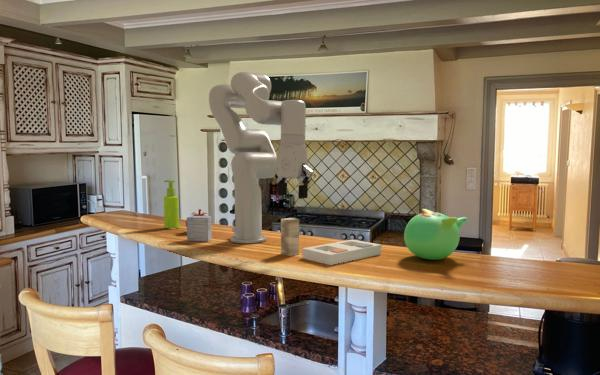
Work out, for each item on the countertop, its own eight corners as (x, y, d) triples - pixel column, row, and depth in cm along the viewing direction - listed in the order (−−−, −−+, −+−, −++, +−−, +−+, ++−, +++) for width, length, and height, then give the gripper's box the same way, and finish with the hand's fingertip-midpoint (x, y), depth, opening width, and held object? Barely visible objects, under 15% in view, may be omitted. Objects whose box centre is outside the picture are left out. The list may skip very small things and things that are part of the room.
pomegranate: (183, 231, 191) (182, 208, 190) (207, 229, 195) (207, 207, 195) (189, 235, 182) (188, 211, 181) (214, 233, 186) (214, 209, 186)
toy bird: (412, 250, 154) (413, 205, 153) (467, 255, 146) (468, 208, 145) (396, 261, 138) (397, 211, 137) (457, 268, 131) (458, 215, 129)
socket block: (302, 258, 143) (302, 247, 143) (352, 248, 158) (352, 238, 157) (330, 265, 134) (330, 253, 134) (381, 254, 148) (381, 243, 148)
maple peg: (281, 253, 149) (280, 218, 148) (290, 252, 152) (290, 217, 151) (289, 256, 146) (289, 220, 145) (299, 254, 149) (299, 219, 148)
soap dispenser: (173, 226, 205) (172, 179, 203) (181, 228, 200) (180, 180, 198) (160, 227, 201) (159, 180, 199) (169, 229, 196) (167, 180, 194)
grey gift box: (211, 239, 174) (211, 215, 173) (208, 241, 169) (208, 217, 169) (190, 239, 175) (190, 215, 174) (186, 241, 170) (186, 217, 170)
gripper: (265, 140, 150) (265, 195, 152) (302, 141, 137) (302, 200, 139) (284, 141, 155) (283, 193, 157) (321, 141, 142) (320, 198, 144)
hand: (292, 196), depth 148 cm, fingers open, 9 cm apart
